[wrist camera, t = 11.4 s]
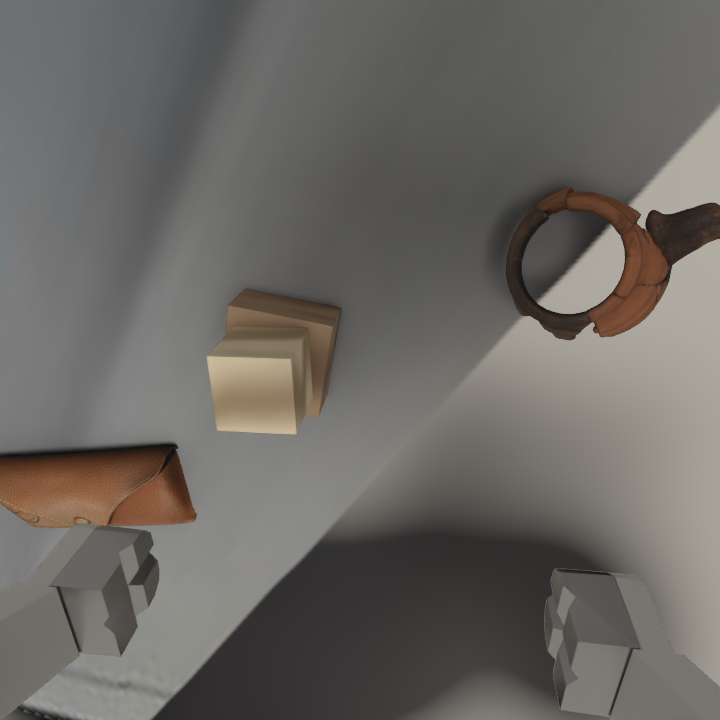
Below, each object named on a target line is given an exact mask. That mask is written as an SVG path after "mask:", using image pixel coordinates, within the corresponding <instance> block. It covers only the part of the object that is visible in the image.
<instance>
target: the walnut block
mask: <svg viewBox="0 0 720 720" xmlns="http://www.w3.org/2000/svg"><path fill="white" fill-rule="evenodd" d="M340 313H341V308H338V307H333V306H328V305H323V304H318V303H313V302H308V301H303V300H298V299H293V298H288V297H283V296H278V295H273V294H268V293H263V292H258V291H253V290H248V289H245V290H244V291H243V292H242V293H241V294H240V295H238V296H237V297H236V298H235V299H234V300H233V301H232V302H231V303H230V304H229V305H228V313H227V327H226V335H227V334H228V333H229V332H230V331H231V330H232V329H233V328H234V327H235V326H241V327H280V328H309V340H310V357H311V374H312V391H313V397H312V399H311V402H310V404H309V406H308V409H307V411H306V413H305V415H307V416H311V417H316V418H318V417H319V415H320V412H321V409H322V407H323V404H324V401H325V399H326V396H327V393H328V387H329V380H330V374H331V368H332V362H333V356H334V350H335V343H336V337H337V331H338V325H339V319H340Z"/></svg>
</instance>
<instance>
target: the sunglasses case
mask: <svg viewBox="0 0 720 720" xmlns="http://www.w3.org/2000/svg"><path fill="white" fill-rule="evenodd" d="M175 449H178V447H177V446H169V445H162V446H149V447H140V448H131V449H122V450H107V451H98V452H80V453H66V454H51V455H30V456H5V457H0V504H2V505H3V506H4V507H6V508H7V509H8V510H10V511H11V512H13V513H14V514H15V515H17V516H18V517H20V518H21V519H22V520H24V521H26V524H29V525H31V526H34V527H48V528H62V527H73V526H75V525H76V524H78V523H84V524H93V525H105V526H145V525H168V524H183V523H189V522H193V521H195V519H196V515H197V514H196V512H195V511H194V508H193V507H192V503H191V500H190V495H189V492H188V488H187V485H186V481H185V478H184V474H183V470H182V467H181V464H180V460H179V457H178V454H177V452H176V450H175Z"/></svg>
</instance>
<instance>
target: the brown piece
mask: <svg viewBox="0 0 720 720" xmlns="http://www.w3.org/2000/svg"><path fill="white" fill-rule="evenodd" d="M564 209H568V210H570V211H585V212H590V213H594V214H596V215H599V216H601V217H602V218H604V219H605V220H607V221H608V222H609V223H610V224H612V225H613V227H614V228H615V229H616V231H617V232H618V233H619V234H620V235H621V239H622V241H623V245H624V249H625V265H624V270H623V273H622V276H621V279H620V281H619V283H618V285H617V286H616V288H615V289H614V291H613V292H612V293H611V294H610V295H609V296H608V297H607V298H606V299H605V300H604V301H603V302H601V303H600V304H598V305H597V306H595V307H593V308H591V309H589V310H587V311H586V312H581V313H576V314H560V313H556V312H552V311H550V310H547V309H545V308H543V307H541V306H540V305H538V304H537V303H536V302H535V301H534V299H533V298H532V297H531V296H530V294H529V293H528V291H527V289H526V287H525V285H524V281H523V277H522V259H523V255H524V251H525V248H526V246H527V244H528V242H529V240H530V238H531V237H532V235H533V234H534V233H535V232H536V230H537V229H538V228H539V227H540V226H541V225H542V224H543V223H545V222H546V221H547V220H548V219H549V216H550V215H552V214H554V213H557V212H558V211H561V210H564ZM640 216H641V214H640V213H639V212H638V211H636V210H635V209H633V208H631V207H630V206H628V205H626V204H624V203H622V202H620V201H618V200H616V199H614V198H611V197H607V196H604V195H599V194H596V193H592V192H573V189H572V188H571V187H567V188H564V189H562V190H560V191H558V192H555V193H553V194H551V195H549V196H548V197H546V198H544V199H543V200H541V201H540V202H539V204H538V205H535V206H533V207H532V208H531V209H530V210H529V211H528V213H527V214H526V215H525V217H524V218H523V220H522V221H521V223H520V225H519V226H518V228H517V230H516V232H515V233H514V236H513V238H512V240H511V243H510V246H509V250H508V254H507V260H506V262H507V263H506V277H507V283H508V286H509V289H510V292H511V295H512V297H513V300H514V303H515V305H516V308H517V310H518V311H519V313H520V314H521V316H531V317H533V318H534V319H536V320H538V321H539V322H540V324H541V325H542V326H543V328H544V329H545V330H547V331H549V332H551V333H553V334H554V336H555V337H556V338H559V339H565V340H573V339H575V337H576V335H577V334H579V333H580V332H581V331H582V329H584V328H585V327H586V326H587V325H589V324H590V323H591V322H594V323H595V327H594V328H593V331H594V333H599V335H600V337H611V336H615V335H617V334H620V333H623V332H625V331H627V330H629V329H631V328H632V327H634V326H636V325H638V324H639V323H640V322H642V321H643V320H644V319H645V318H646V317H647V316H648V315H649V314H650V313H651V312H652V310H653V309H654V308H655V306H656V305H657V303H658V302H659V300H660V299H661V297H662V295H663V293H664V291H665V289H666V287H667V285H668V282H669V279H670V274H671V268H672V265H673V264H674V263H676V262H677V261H678V260H680V259H681V258H683V257H684V256H686V255H688V254H690V253H691V252H693V251H695V250H697V249H699V248H700V247H702V246H703V245H704V244H706V243H708V242H711V241H713V240H716V239H720V205H718V204H716V203H707V204H703V205H700V206H697V207H694V208H691V209H687V210H684V211H680V212H677V213H674V214H668V215H667V214H662V213H660V212H658V211H656V210H652V211H650V212H649V214H648V216H647V219H646V229H647V231H646V230H645V229H642V228H641V227H640V226H639V225H638V224H637V221H638V219H639V218H640Z"/></svg>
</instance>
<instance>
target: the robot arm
mask: <svg viewBox="0 0 720 720" xmlns="http://www.w3.org/2000/svg"><path fill="white" fill-rule="evenodd" d="M153 545H154V543H153V539H152V535H151V532H148V531H146V530H138V529H130V528H121V527H113V526H105V525H93V524H84V523H78V524H76V525H75V526H73V527H71V528H70V530H69V531H68V532H67V533H66V534H65V535H64V537H63V538H62V539H61V540H60V541H59V543H58V544H57V545H56V546H55V547H54V549H53V550H52V551H51V552H50V553H49V555H48V556H47V557H46V558H45V559H44V560H43V562H42V563H41V564H40V565H39V566H38V568H37V569H36V570H35V571H34V572H33V574H32V575H31V576H30V577H29V578H28V580H27V581H26V582H25V583H24V584H20V583H16V584H15V585H13V586H11V587H9V588H7V589H6V590H4V591H2V592H0V720H2V719H3V718H5V717H6V716H7V715H8V714H9V713H11V712H12V711H13V710H14V709H16V708H17V707H18V706H19V705H20V704H22V703H23V702H24V701H25V700H27V699H28V698H29V697H30V696H31V695H33V694H34V693H35V692H36V691H37V690H39V689H40V688H41V687H42V686H43V685H45V684H46V683H47V682H48V681H50V680H51V679H52V678H53V677H54V676H56V675H57V674H58V673H59V672H60V671H62V670H63V669H64V668H65V667H67V666H68V665H69V664H70V663H71V662H73V661H74V660H75V659H76V658H77V657H79V653H83V654H94V655H106V656H117V657H121V656H122V654H123V652H124V651H125V649H126V647H127V645H128V643H129V642H130V640H131V638H132V636H133V634H134V633H135V631H136V629H137V627H138V625H137V620H136V616H137V615H138V614H140V613H141V612H143V611H144V610H146V609H147V608H148V607H149V606H150V604H151V602H152V600H153V598H154V596H155V593H156V590H157V586H158V582H159V565H158V560H157V559H156V558H155V557H154V556H153V555H152V554H151V553H150V550H151V548H152V547H153ZM551 586H552V591H553V595H552V596H550V597H549V598H548V599H547V602H546V608H545V622H544V627H545V637H546V643H547V648H548V652H549V653H550V654H551V655H552V656H553V657H554V658H555V660H556V662H555V666H554V671H553V677H554V683H555V688H556V692H557V697H558V702H559V706H560V710H565V711H572V712H578V713H586V714H592V715H599V716H606V717H610V720H720V687H719V686H718V685H717V684H716V683H715V682H714V681H713V680H712V679H710V678H709V677H708V676H707V675H706V674H705V673H704V672H703V671H701V670H700V669H699V668H698V667H697V666H696V665H695V664H694V663H693V662H691V661H690V660H689V659H688V658H687V657H686V656H685V655H681V654H675V652H674V650H673V648H672V646H671V643H670V641H669V639H668V636H667V634H666V632H665V629H664V627H663V625H662V623H661V620H660V618H659V616H658V613H657V611H656V609H655V606H654V604H653V602H652V600H651V597H650V595H649V593H648V590H647V588H646V586H645V583H644V581H643V579H642V578H641V577H640V576H639V575H632V574H620V573H608V572H597V571H585V570H573V569H560V568H555V570H554V572H553V574H552V578H551Z"/></svg>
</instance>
